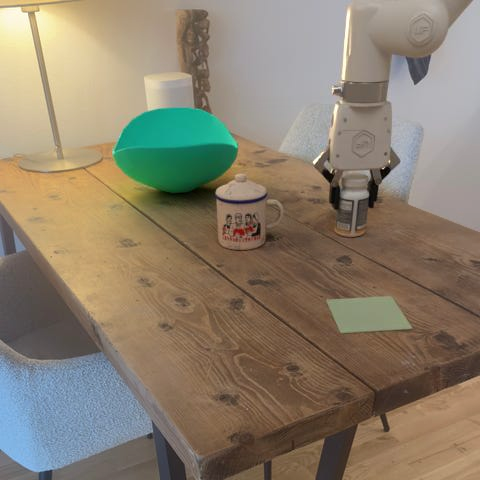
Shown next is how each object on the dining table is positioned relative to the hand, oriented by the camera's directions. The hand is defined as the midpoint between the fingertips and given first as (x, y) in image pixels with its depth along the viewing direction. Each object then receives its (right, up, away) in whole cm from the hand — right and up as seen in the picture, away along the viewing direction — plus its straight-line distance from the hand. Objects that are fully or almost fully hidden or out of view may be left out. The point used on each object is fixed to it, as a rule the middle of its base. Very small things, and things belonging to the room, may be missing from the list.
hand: (352, 205), depth 103 cm
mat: (-2, -24, -22) cm, 33 cm away
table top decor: (-34, +14, +27) cm, 46 cm away
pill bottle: (0, -4, +3) cm, 5 cm away
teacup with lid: (-19, -7, +1) cm, 20 cm away
